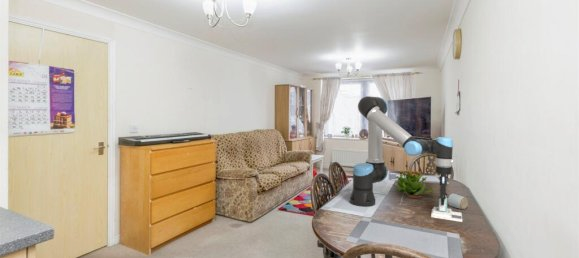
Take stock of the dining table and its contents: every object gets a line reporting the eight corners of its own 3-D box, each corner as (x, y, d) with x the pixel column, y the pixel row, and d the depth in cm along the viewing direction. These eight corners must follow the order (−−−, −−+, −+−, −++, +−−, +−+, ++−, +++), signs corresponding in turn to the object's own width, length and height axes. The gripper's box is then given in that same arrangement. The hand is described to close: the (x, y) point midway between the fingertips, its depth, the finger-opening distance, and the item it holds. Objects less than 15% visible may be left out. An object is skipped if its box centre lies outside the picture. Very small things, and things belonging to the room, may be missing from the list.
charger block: (438, 213, 155) (438, 196, 155) (438, 211, 159) (439, 194, 159) (446, 214, 154) (447, 197, 153) (446, 212, 157) (447, 195, 157)
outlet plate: (431, 217, 153) (431, 212, 153) (432, 210, 163) (432, 205, 163) (462, 222, 146) (462, 216, 146) (461, 214, 157) (461, 210, 156)
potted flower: (437, 195, 196) (438, 169, 195) (433, 204, 176) (433, 175, 175) (398, 189, 209) (399, 165, 209) (390, 197, 189) (391, 170, 189)
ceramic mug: (461, 210, 164) (461, 197, 163) (447, 206, 171) (447, 193, 170) (471, 208, 169) (472, 195, 168) (457, 204, 176) (458, 192, 176)
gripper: (452, 169, 145) (450, 215, 146) (451, 164, 162) (450, 205, 163) (435, 168, 149) (433, 212, 150) (436, 163, 166) (435, 203, 167)
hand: (442, 208), depth 156 cm, fingers open, 7 cm apart
